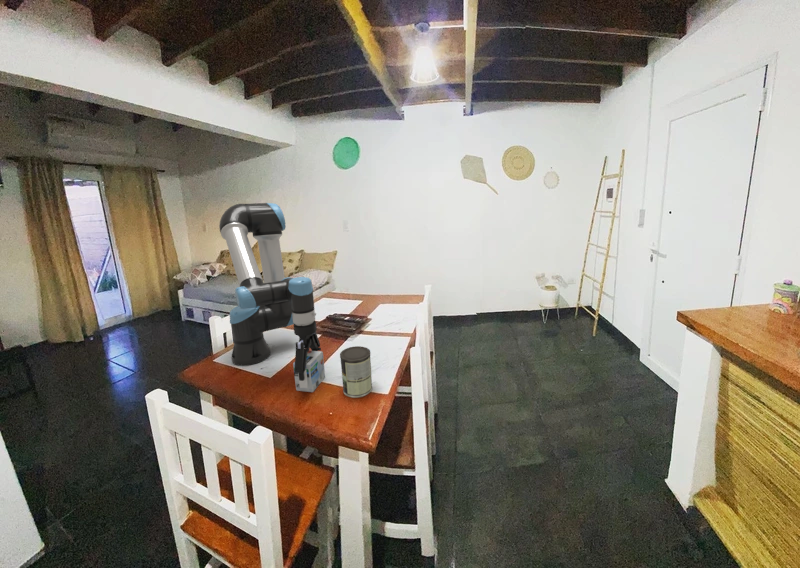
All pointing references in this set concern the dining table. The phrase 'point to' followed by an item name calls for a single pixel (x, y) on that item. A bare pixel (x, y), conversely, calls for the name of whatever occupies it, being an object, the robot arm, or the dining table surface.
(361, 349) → the coffee can
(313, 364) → the light bulb box
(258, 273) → the robot arm
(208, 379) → the dining table surface
